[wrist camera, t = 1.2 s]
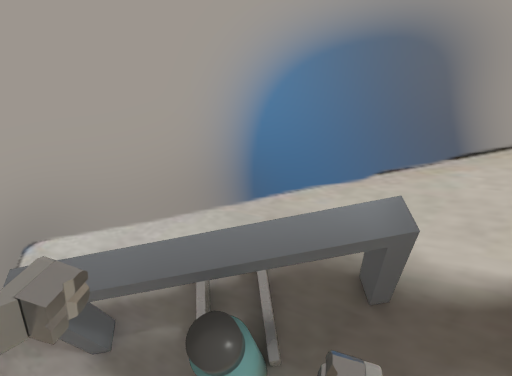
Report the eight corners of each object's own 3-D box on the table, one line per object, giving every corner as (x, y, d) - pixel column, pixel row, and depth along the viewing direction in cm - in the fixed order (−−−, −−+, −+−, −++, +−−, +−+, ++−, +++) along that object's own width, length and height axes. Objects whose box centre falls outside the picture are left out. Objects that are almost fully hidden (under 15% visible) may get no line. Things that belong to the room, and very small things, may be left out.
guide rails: (265, 259, 48) (262, 250, 46) (281, 364, 39) (279, 360, 37) (200, 271, 49) (195, 263, 47) (202, 378, 40) (196, 374, 38)
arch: (377, 272, 45) (401, 195, 32) (389, 301, 42) (419, 230, 29) (97, 323, 46) (10, 269, 33) (92, 354, 43) (-6, 309, 30)
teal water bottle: (263, 340, 41) (243, 299, 31) (270, 396, 37) (250, 371, 27) (215, 348, 41) (179, 310, 31) (218, 405, 38) (177, 384, 27)
